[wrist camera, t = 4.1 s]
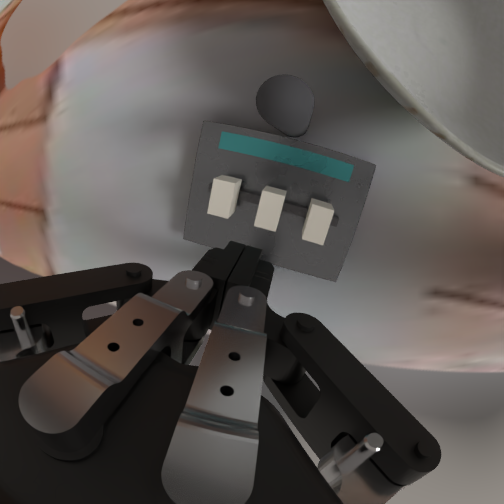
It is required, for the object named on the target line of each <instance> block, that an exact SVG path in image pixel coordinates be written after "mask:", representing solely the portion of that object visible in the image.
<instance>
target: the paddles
mask: <svg viewBox="0 0 504 504" xmlns="http://www.w3.org/2000/svg"><path fill="white" fill-rule="evenodd" d="M241 182H242V179H238V178H234V177H230V176H225V175H221V176H218V177H216V178H214V179H213V185H212V190H211V195H210V201H209V206H208V212H207V214H211V215H215V216H219V217H223V218H226V219H228V218H229V217H230V216H231V215H232V214H233V213H234V212H235V209H236V205H237V200H238V195H239V191H240V186H241ZM286 192H287V191H285V190H281V189H278V188H274V187H270V186H266V187H265V188H264V189H263V190H262V194H261V198H260V202H259V206H258V210H257V215H256V219H255V223H254V226H256V227H260V228H263V229H267V230H271V231H274V232H276V229H277V226H278V222H279V219H280V215H281V211H282V207H283V204H284V200H285V196H286ZM333 214H334V209H333V206H332V204H330V203H327V202H323V201H320V200H317V199H313V198H311V202H310V205H309V209H308V212H307V215H306V219H305V222H304V225H303V229H302V239H303V240H306V241H310V242H313V243H317V244H320V245H323V244H324V241H325V238H326V235H327V232H328V229H329V226H330V223H331V220H332V217H333Z"/></svg>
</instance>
